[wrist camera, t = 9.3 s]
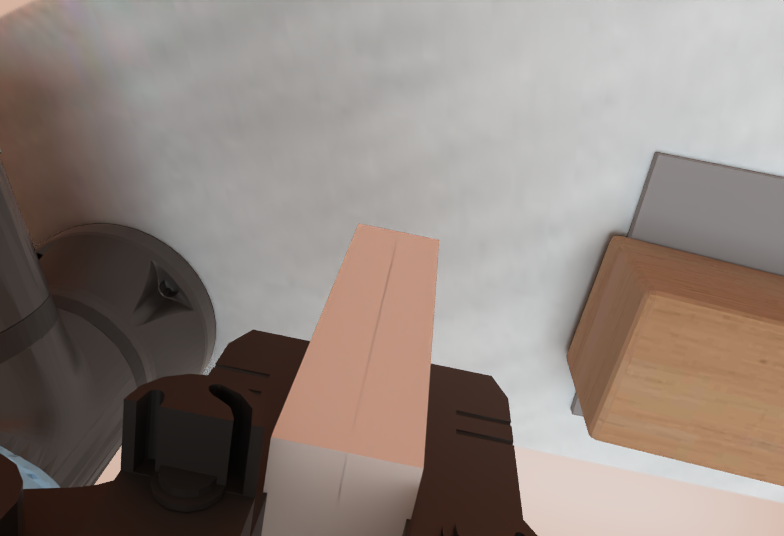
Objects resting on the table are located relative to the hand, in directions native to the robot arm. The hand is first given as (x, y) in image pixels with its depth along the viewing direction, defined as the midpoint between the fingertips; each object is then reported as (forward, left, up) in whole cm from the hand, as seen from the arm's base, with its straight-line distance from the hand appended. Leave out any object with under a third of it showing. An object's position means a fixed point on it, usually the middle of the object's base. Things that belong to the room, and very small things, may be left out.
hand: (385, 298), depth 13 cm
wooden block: (+13, -13, -29) cm, 34 cm away
